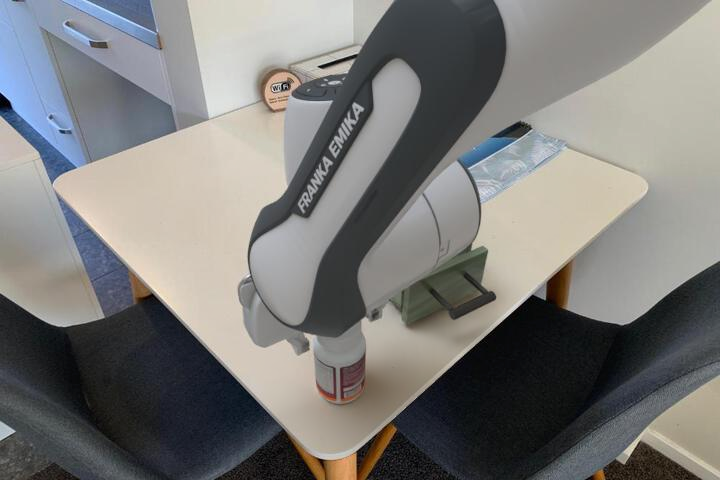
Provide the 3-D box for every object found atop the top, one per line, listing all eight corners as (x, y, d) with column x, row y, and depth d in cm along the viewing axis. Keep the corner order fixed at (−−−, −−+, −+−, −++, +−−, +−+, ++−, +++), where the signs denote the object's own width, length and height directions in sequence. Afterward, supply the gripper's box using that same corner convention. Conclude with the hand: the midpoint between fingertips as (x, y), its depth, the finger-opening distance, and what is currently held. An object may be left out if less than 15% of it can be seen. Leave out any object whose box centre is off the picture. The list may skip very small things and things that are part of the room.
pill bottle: (367, 366, 68) (369, 305, 60) (362, 408, 63) (363, 347, 56) (320, 362, 68) (316, 301, 61) (311, 403, 63) (306, 342, 56)
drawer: (507, 314, 74) (518, 273, 69) (431, 353, 68) (438, 312, 63) (425, 241, 86) (429, 202, 82) (355, 268, 81) (356, 229, 76)
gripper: (248, 298, 44) (264, 393, 53) (438, 224, 53) (425, 316, 62) (222, 256, 49) (241, 350, 57) (402, 193, 57) (394, 284, 66)
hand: (337, 332), depth 60 cm, fingers open, 8 cm apart
